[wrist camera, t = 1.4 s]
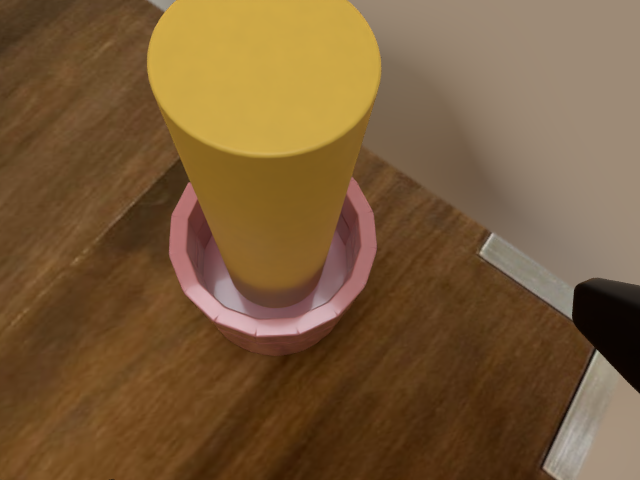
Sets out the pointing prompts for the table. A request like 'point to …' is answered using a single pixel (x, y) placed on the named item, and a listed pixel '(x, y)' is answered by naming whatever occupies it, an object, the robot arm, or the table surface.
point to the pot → (262, 322)
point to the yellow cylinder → (267, 127)
